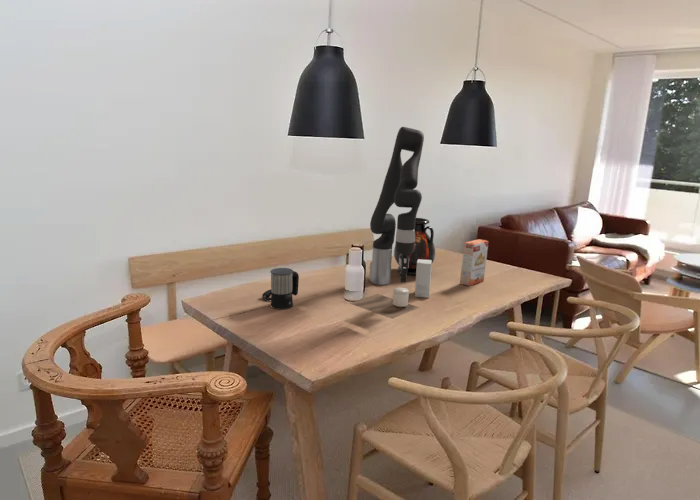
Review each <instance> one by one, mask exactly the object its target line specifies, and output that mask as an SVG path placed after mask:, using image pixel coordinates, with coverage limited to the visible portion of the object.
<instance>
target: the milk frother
mask: <svg viewBox="0 0 700 500" xmlns="http://www.w3.org/2000/svg"><path fill="white" fill-rule="evenodd" d="M269 273H270V289H268V290H266V291H264V292H263V293H262V295H261V297H262V299H263V300H265V299H266V300H265V301H268V300H271V301H270V304H271V306H272V307H274V308H273V309H275V308H279V309H278V310H287V309H286V308H288V309H291V308H292V307H294V303H293V296H297V295H299V294H298V293H299V283H300V282H299V278H300V275H299V273H298V272H297V271H295V270H293V268H288V267H276V268H273V269H271V270H270V272H269ZM271 306H270V307H271ZM272 307H271V308H272ZM290 307H291V308H290Z"/></svg>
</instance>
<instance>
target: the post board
mask: <svg viewBox="0 0 700 500" xmlns="http://www.w3.org/2000/svg"><path fill="white" fill-rule="evenodd" d="M349 304H351V305H354V306H355V307H359V308H362V309H365V310H367V311H371V312H373V313H376V314H379V315H382V316H385V317H387V318H390V319H395V318H397V317H401V316H403V315H404V314H406V313H409V312H411V311H414V310H417V309H420V307H419V306H417V305H414V304H410V303H408V305H407V306H403V307H400V306H395V305H394V304H393V297H392V298H391V297H389V296H385V295H383V294H379V293H376V294H373V295H371V296H367V297H365V298H361V299H359V300H355V301H352V302H349Z"/></svg>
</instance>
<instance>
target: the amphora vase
mask: <svg viewBox="0 0 700 500" xmlns="http://www.w3.org/2000/svg"><path fill="white" fill-rule="evenodd" d="M428 224H430V220H429V219H426V218H424V217H423V218H422V217H416V221H415V245H414V252H413V253H409V254H408V256H409V267H408V273H407V276H411V277H412V276H413V277H416V268H417V261H418V259H422V260H432V263H431V265H432V264H433V263H434V261H435V260H436V247H435V243H434V234H435V233H434V232H435V231H434V229H433V227H432V226H430V225H428ZM426 225H428V226H426ZM427 230H429V232H430V235H429V234H428V232H427ZM393 248H394V249H393V258H394V260H395V262H396V264H397V265H398V267H397V271H398V272H399V273H400V264H399V255H400V253H398V252H396V251H395V247H393Z"/></svg>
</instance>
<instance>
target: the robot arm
mask: <svg viewBox="0 0 700 500" xmlns="http://www.w3.org/2000/svg"><path fill="white" fill-rule="evenodd" d="M424 137H425V135H424V133H423V131H421V130H419V129H415V128H411V127H408V126H401V127H400V128H399V129H398V132H397V134H396V138H395V142H394V147H393V150H392V151H393V152H392V154H391V159H390V162H389V165H388V168H387V171H386V175H385V177H384V181H383V185H382V189H381V191H380V195H379V198H378V201H377V204H376V206H375V208H374V210H373V213H372V216H371V218H370V225H369V227H370V231H371V233H373V234H374V235H380V236H379V237H378V238H377V239H375V240H373V243H372V254H371V255H372V257H371V261H370V264H369V282H371V284H374V285H377V286H378V285H379V286H381V285H382V286H385V285H389V284H390V283H391V276H392V275H391V273H392V258H393V257H392V256H393V245H394V248H395V251H396V252H398V253H400V255H399V264H400V272H399V277H400V283H401V284H406V283H407V277H408V275H407V273H408V267H409V256H408V254H409V253H413V252H414V245H415V221H416V218H417V214H418V211H419V208H420V206H421V204H422V203H421V202H422V199H423V197H422V193H421V191H420V190H419V189H416V188H417V186H418V180H419V166H420V162H421V157H422V151H423V146H424V141H425V140H424V139H425V138H424ZM402 150H403V151H407V152H411V153H412V152H413V153H412V155H411V156H410V158H408V159H407V160H406V161H405V162H404V163H403V162H402V157H401V156H402V155H401V153H402ZM393 205H395V206H396V207H397V208H406V209H407V208H409V209H410V208H411V210H409V211H408V212H404V213H403V212H402V213H399V214H398V215H397V220H396V218H395V216H394V215H393V214H391V213H388V211H389V210H390V208H391V207H392V206H393ZM396 221H397V222H396ZM394 243H395V244H394Z"/></svg>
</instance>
